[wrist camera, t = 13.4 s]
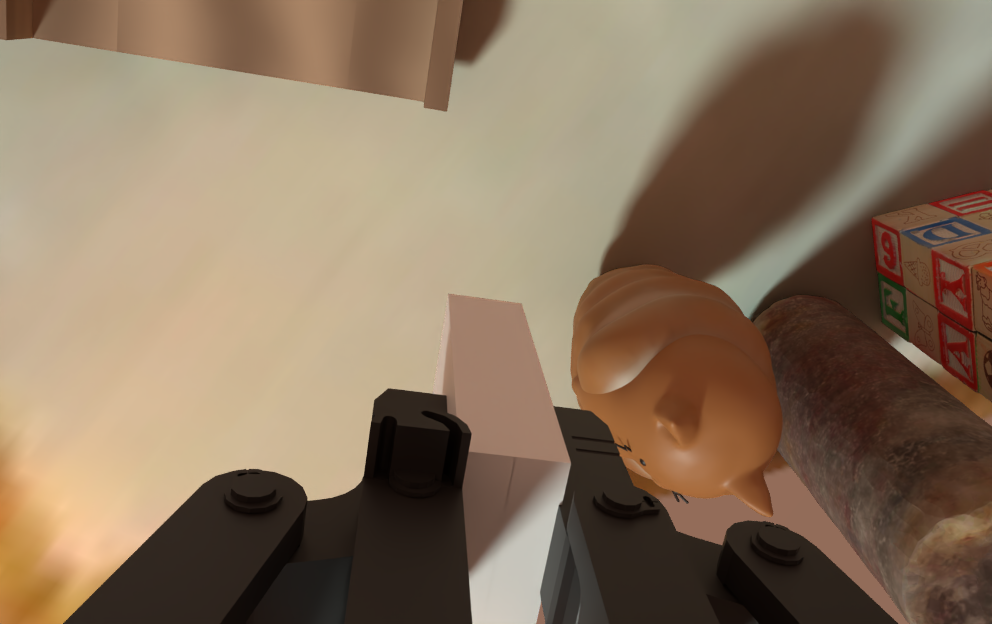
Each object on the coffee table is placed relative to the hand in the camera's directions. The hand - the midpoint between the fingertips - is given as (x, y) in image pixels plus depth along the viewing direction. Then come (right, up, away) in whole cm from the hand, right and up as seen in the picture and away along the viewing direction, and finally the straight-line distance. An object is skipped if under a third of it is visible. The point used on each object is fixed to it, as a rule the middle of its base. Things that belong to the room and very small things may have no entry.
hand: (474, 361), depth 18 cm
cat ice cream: (+7, +2, +28) cm, 29 cm away
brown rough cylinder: (+16, -1, +30) cm, 34 cm away
